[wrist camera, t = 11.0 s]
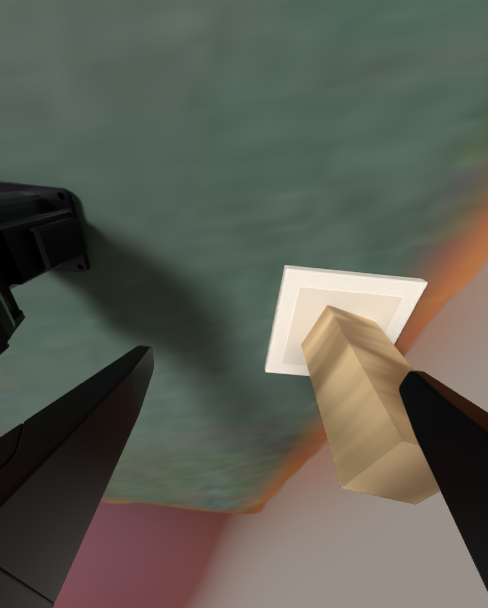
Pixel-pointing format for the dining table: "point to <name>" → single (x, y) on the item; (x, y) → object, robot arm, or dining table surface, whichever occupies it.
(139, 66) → the dining table surface
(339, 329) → the oak block
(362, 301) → the tile
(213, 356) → the dining table surface
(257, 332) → the dining table surface
